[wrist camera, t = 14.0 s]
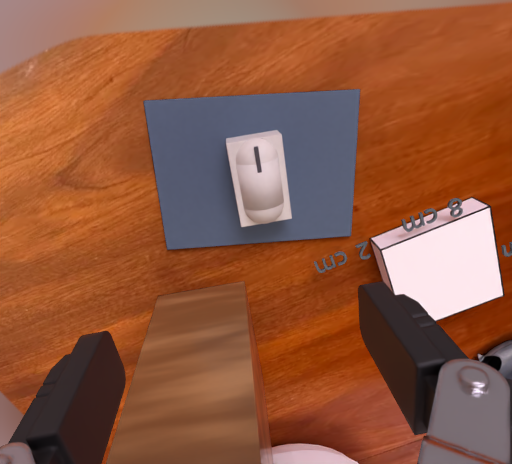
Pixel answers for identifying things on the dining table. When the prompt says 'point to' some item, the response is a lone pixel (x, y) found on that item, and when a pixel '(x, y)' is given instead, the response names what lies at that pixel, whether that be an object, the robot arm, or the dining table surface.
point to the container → (441, 258)
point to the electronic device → (500, 359)
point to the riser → (196, 385)
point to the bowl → (308, 455)
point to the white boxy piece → (259, 177)
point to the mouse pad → (219, 173)
